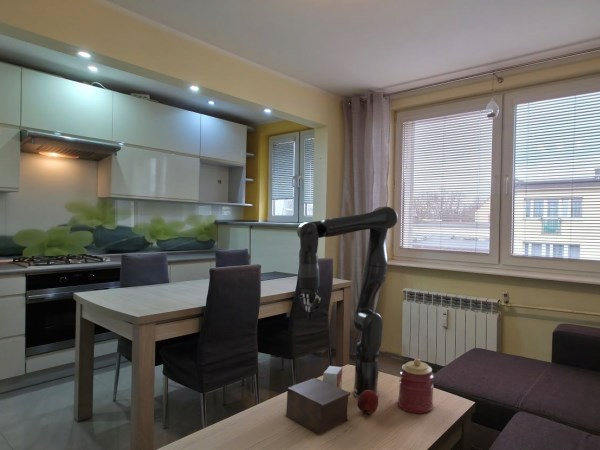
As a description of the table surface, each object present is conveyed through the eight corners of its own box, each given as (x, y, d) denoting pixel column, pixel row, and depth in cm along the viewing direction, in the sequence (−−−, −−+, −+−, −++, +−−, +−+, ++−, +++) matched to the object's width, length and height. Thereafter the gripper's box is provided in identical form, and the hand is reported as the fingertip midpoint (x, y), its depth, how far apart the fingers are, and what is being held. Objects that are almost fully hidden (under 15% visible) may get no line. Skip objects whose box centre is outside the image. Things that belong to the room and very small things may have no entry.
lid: (350, 395, 129) (350, 392, 129) (322, 407, 119) (322, 405, 119) (314, 379, 140) (315, 377, 140) (287, 390, 131) (287, 387, 131)
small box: (335, 402, 142) (337, 374, 142) (321, 400, 143) (323, 372, 143) (341, 393, 150) (342, 367, 150) (328, 391, 151) (329, 365, 151)
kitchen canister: (404, 395, 151) (406, 350, 151) (436, 402, 146) (438, 357, 146) (392, 408, 140) (395, 360, 140) (427, 417, 134) (429, 367, 134)
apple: (382, 414, 135) (383, 391, 135) (365, 420, 130) (366, 397, 130) (369, 406, 141) (370, 384, 141) (352, 411, 136) (353, 389, 136)
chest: (347, 420, 130) (348, 394, 130) (319, 434, 120) (320, 406, 120) (313, 403, 140) (314, 379, 140) (286, 416, 131) (287, 390, 131)
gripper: (328, 275, 140) (329, 321, 140) (307, 272, 150) (308, 316, 150) (311, 277, 135) (313, 326, 135) (290, 275, 145) (292, 320, 145)
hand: (310, 321), depth 142 cm, fingers closed
